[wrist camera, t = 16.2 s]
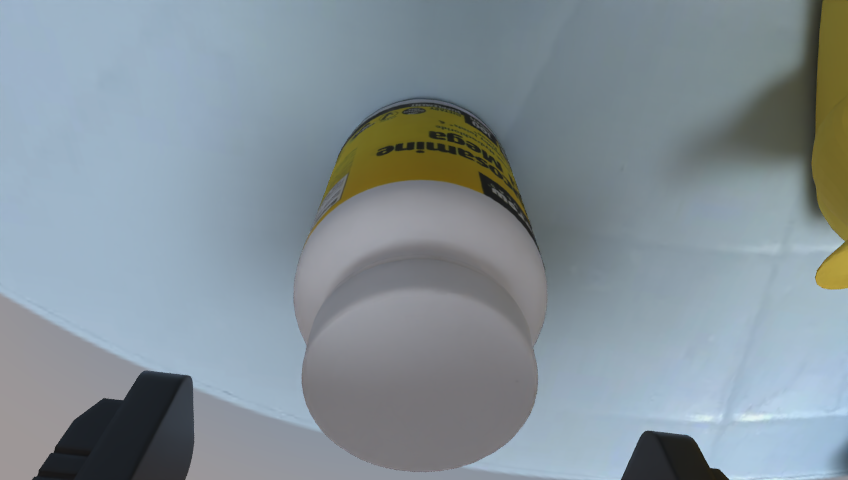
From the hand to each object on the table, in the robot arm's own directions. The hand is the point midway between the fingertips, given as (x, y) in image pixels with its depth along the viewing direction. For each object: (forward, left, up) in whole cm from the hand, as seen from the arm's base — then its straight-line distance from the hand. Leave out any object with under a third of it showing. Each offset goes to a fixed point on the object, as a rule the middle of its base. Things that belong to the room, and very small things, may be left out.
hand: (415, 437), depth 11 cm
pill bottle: (0, 0, -12) cm, 12 cm away
